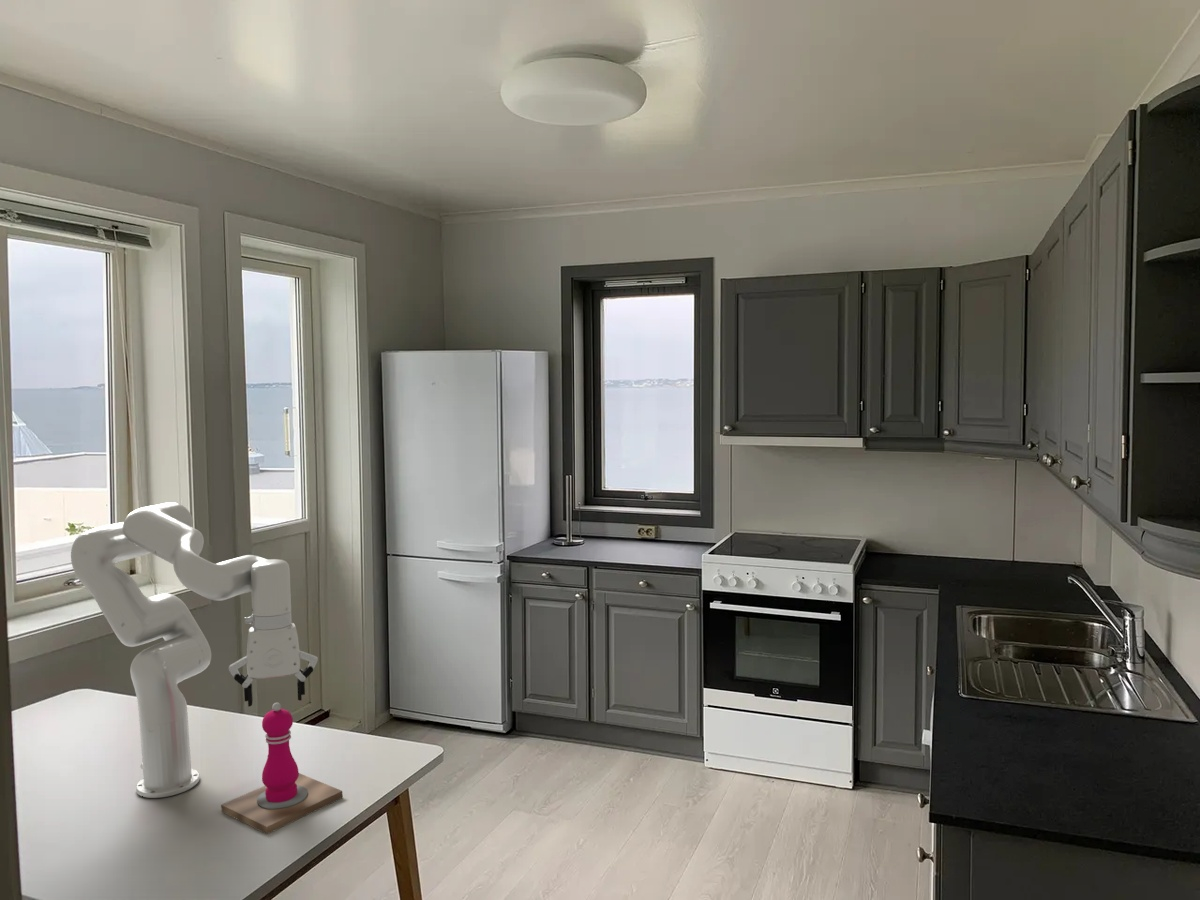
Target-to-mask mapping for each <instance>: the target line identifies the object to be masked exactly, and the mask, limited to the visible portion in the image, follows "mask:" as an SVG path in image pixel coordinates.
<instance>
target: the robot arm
mask: <svg viewBox="0 0 1200 900" xmlns="http://www.w3.org/2000/svg"><path fill="white" fill-rule="evenodd" d="M193 523H194V521H193V516H192V514H191V512H190V511H189V510H188V508H186V507H185V505H183V504H182V503H181V504H180V503H177V502H173V501H172V502H163V503H159V504H153V505H148V506H142V507H140V508H137V509H134V510H133V511H131V512H129V514H127V515H126V517H125V518H124V520H123V521H120V522H117V523H115V522H114V523H111V524H105V525H101V526H97V527H93V528H91V529H88V530H86V531H84V532H82V533H81V534H79V535H78V536H77V537H76V538H75V540H74V541H73V543H72V546H71V550H70V562H71V566H72V569H73V572H74V574H75V576H76V577H77V579H78V580H79V582H80V583H81V584H82V586H84V587H85V589H86V590H87V591H88V592H89V593H90V595H91V596H92V598H93V599H94V600H95V601H96V603H97V605H98V607H99V609H100V611H101V612H102V614H103V616H104V618H105V619H106V621H107V622H108V624H109V625H110V627H111V629H112V631H113V632H114V635H116V637H117V640H119V642H120V643H122V645H124V646H126V647H129V648H133V647H138V646H142V645H144V644H145V645H146V644H149V643H151V642H153V641H157V640H159V639H161V638H163V641H161V642H159V643H156V644H154V645H151V646H149V647H146V648H145V649H143V650H141V651H140V652H139V653H138V654H136V655H135V656H134V658H133V660H132V661H131V664H130V670H129V671H130V672H129V673H130V678H131V681H132V686H133V688H134V693H135V696H136V702H137V708H138V709H137V710H138V721H139V732H140V733H139V734H140V747H141V761H142V763H141V764H140V769H141V770H142V775H143V777H142V779H140V780H139V781H138V782H137V784H136V785H135V790H136V791H135V792H136V794H137V795H138V796H140V797H142V796H143V797H142V798H148V799H159V798H160V799H161V798H166V797H167V798H168V797H172V796H175V795H179V794H182V793H184V792H186V791H189V790H190V789H192V788H193V787H195V786H197V784H198V783H199V781H200V777H201V776H200V773H199V771H198V770H196V769H194V768H192V761H191V758H192V757H191V746H190V745H191V744H190V731H189V730H190V729H189V727H190V726H189V713H188V704H187V700H186V697H185V695H184V694H183V693H182V691H181V690H180V688H179V687H178V684H179V683H181V682H183V681H184V680H187V679H190V678H192V677H194V676H196V675H198V674H200V673H202V672H203V671H205V670H206V669H208V667H209V666H210V664H211V661H212V650H211V647H210V644H209V641H208V640H207V638H206V636H205V634H204V633H203V630H201V628H200V626H199V624H198V623H197V621H196V619H195V617H194V616H193V615H192V613H191V611H190V609H189V607H188V606H187V605H186V603H185V602H184V601H183V600H182V599H181V598H179V597H178V596H176V595H175V594H171V593H167V592H166V593H159V594H155V595H153V596H146V595H145V594H144V593H143V592H142V591H141V589H140V587H139V586H138V584H137V582H136V580H135V579H134V578H133V577H132V576H131V575H130V574H129V573H127V572H125V571H124V570H123V569H120V568H119V567H117V566H115V564H116V563H119V562H123V561H127V560H132V559H135V558H140V557H142V556H143V557H144V556H147V555H149V554H153V555H155V556H156V557H158V558H160V559H162V560H164V561H166V562H168V563H169V564H172V565H173V570H174V573H175V575H176V577H177V578H178V580H179V582H180V583H181V584H182V585H183V586H184V588H186V589H188V590H190V591H191V592H193V593H195V594H197V595H200V596H201V597H203V598H205V599H208V600H212V601H216V602H217V601H225V600H228V599H231V598H234V597H237V596H239V595H243V594H247V593H250V592H251V614H250V615H249V616H246V617H245V616H244V624H249V625H250V626H251V627H250V628H249V629H248V632H247V633H248V635H247V641H246V643H247V644H246V645H247V646H246V655H245V656H243V657H242V658H240V659H238V660H236V661H235V662H233V663H230V665H228V672H229V673H230V674H231V676H232V677H233V679H234V681H236V682H237V683H238V684H240V686H242V688H243V693H244V698H243V699H244V702H247V706H248V707H252V706H253V702H254V701H253V699H254V698H253V683H252V682H253V681H254V680H262V679H271V678H281V677H290V676H295V677H296V678H297V679H296V681H297V683H296V685H297V701H302V699H303V698H302V696H304V695H305V694H306V690H305V689H306V688H305V685H306V684H305V681H306V680H307V678H308V677H309V676H311V674H312V673H313V671H314V669H315V667H316V666H317V663H318V661H319V659H318V658H319V657H318V656H316V655H313V654H311V653H308V652H306V651H303V650H301V649H300V643H299V635H298V631H297V627H296V625H295V623H294V622H292V602H291V601H292V600H291V599H292V595H291V571H290V570H291V569H290V565H289V563H288V562H287V561H286V560H284V559H279V558H278V559H277V558H271V559H268V558H265V557H261V556H259V555H255V554H254V555H253V554H246V555H242V556H239V557H234V558H231V559H227V560H223V561H220V562H217V563H214V562H211V561H210V560H208V559H206V558H204V557H201V556H200V554H201V552H202V551H203V547H204V543H205V541H204V540H205V539H204V536H203V533H202V532H201V531H200V530H198V529H196V528H194V527H193ZM301 660H304V661H306V662H309V663H308V665H307V666H306V667H305V668H304V670H303V669H302V668H301ZM245 665H246V670H247V671H246V672H247V674H246V676H245V675H243V674H242V673H241V672H240V671H239V669H240V668H242V667H244V666H245Z"/></svg>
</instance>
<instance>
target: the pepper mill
mask: <svg viewBox="0 0 1200 900" xmlns="http://www.w3.org/2000/svg"><path fill="white" fill-rule="evenodd" d="M271 709H272V710H269V711H268V712H267V713H265V715H264V716H263V718H262V720H261V724H262V725H261V727H262V730H263V731H264V732H265V733H266V734H265V736H264V737H265V743H267V746H268V753H267V758H266V762H265V764H264V766H263V770H262V775H261V776H262V777H261V782H262V784H263V785H264V786H266V787H267V788H266V790H265V795H266V800H267V801H269V802H276V803H277V802H284V801H287V800H290V799H292V798H294V797H295V796H296V795H297V784H296V783H295V781H296V780H297V778H298V776H299V773H300V772H299V767H298V764H297V762H296V760H295V758H294V757H293V754H292V752H291V748H290V740H291V739H292V732H291V730H290V729H291V728H292V727H293V723H294V719H293V715H292V713H290V711H288V710H287V709H284V708H282V705H281V703H279V702H274V703H273V704H272V706H271Z"/></svg>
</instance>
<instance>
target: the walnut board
mask: <svg viewBox="0 0 1200 900" xmlns="http://www.w3.org/2000/svg"><path fill="white" fill-rule="evenodd" d="M295 783H296V784H297V795H296V796H295V797H294V798H292V799H290V800H287V801H284V802H277V803H276V802H269V801H267V800H266V795H265V790H266V788H267V787H266V786H265V785H264V786H261V787H259V788H256V789H254V790H252V791H250V792H248V793H245V794H243V795H240V796H237V797H235V798H233V799H231V800H229V801H226V802H223V803H222V804H220V809H221V812H222V813H223V812H224V814H225V813H226V815H227V814H228V816H229V815H230V816H229V817H231V816H232V817H231V818H233V817H235V818H237V819H236V820H237V821H240V822H242V823H244V824H246V823H247V824H246V825H248V826H250V827H252V828H254V829H255V830H257V831H259V832H262V833H263V834H266V835H269V834H270V833H272V832H275V831H277V830H279V829H280V828H283V827H284V826H287V825H289V824H291V823H294V822H295V821H297V820H300V819H301V818H304V817H306V816H308V815H310V814H312V813H314V812H317V811H318V810H321V809H323V808H324V807H326V806H328V804H329V805H330V803H331V804H332V802H333V803H334V801H335V802H337V801H339V800H341V799H342V797H343V790H340V789H339V788H337V787H333V786H331V785H329V784H326V783H324V782H321V781H319V780H317V779H314V778H312V777H310V776H307V775H305V774H302V773H300V772H299V776H298V778H297V780H296V781H295ZM340 798H341V799H340ZM343 798H344V797H343ZM338 799H339V800H338ZM336 800H337V801H336ZM303 816H304V817H303ZM235 818H234V819H235Z"/></svg>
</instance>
